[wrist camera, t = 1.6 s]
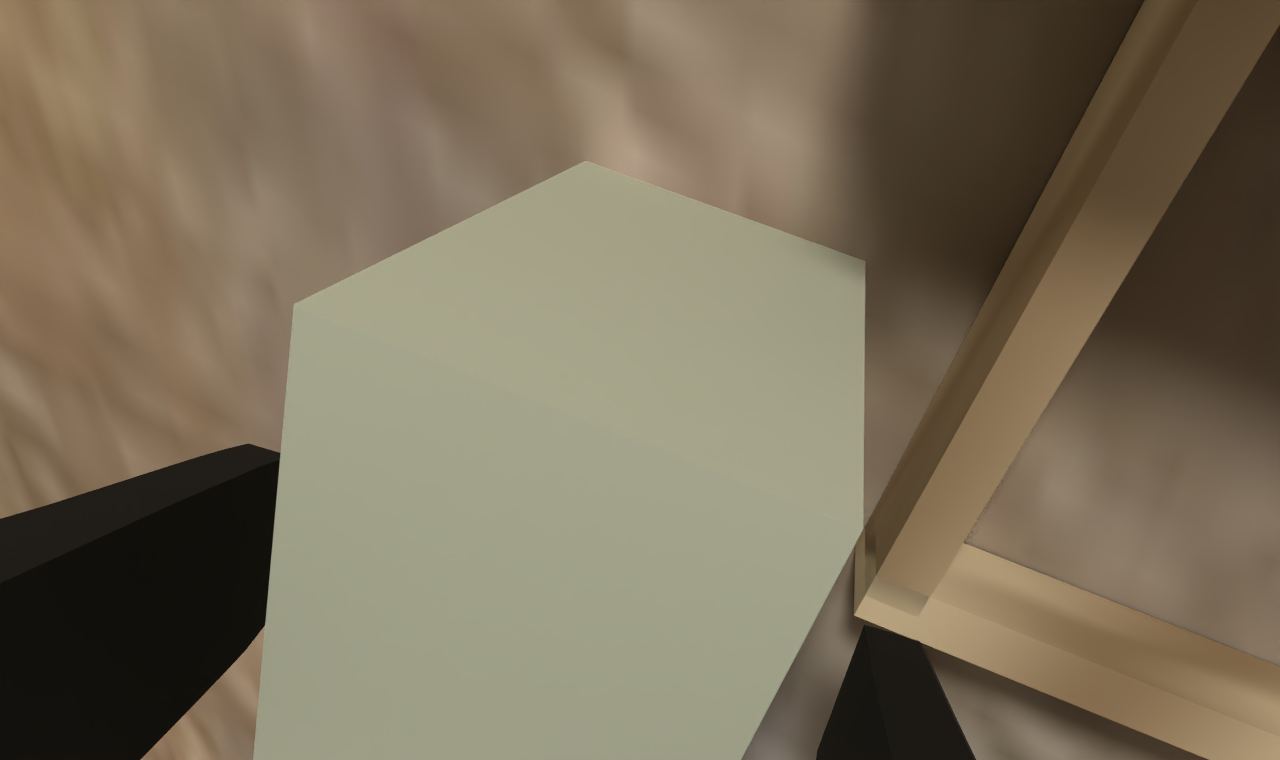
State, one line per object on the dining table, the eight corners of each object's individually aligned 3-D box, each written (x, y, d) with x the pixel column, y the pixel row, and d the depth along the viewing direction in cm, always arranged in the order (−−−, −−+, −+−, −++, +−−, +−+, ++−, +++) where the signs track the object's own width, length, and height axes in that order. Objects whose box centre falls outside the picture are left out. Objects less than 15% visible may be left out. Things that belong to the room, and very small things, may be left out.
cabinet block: (865, 259, 12) (863, 527, 5) (687, 660, 16) (568, 1083, 9) (586, 160, 12) (295, 304, 6) (482, 574, 16) (238, 922, 10)
